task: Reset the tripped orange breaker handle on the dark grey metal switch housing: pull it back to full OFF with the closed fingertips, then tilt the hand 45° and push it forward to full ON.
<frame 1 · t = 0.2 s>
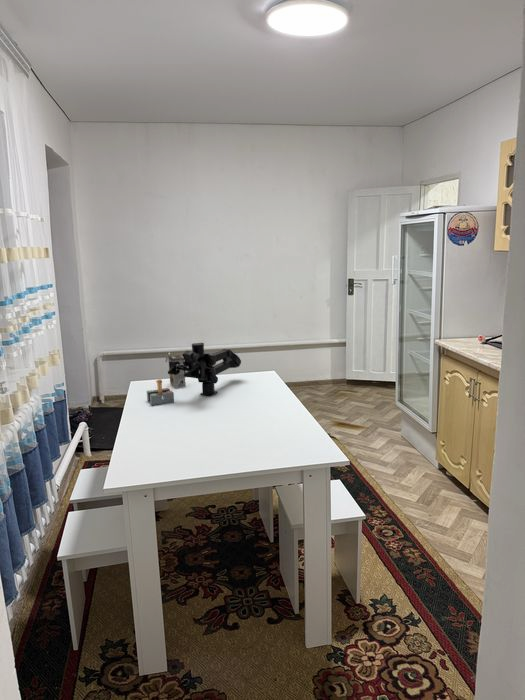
hand: (176, 374, 243), 17 cm above the table, tool horizontal, fingers open, 9 cm apart
breaker handle: (159, 388, 256), point 7 cm above the table, hinge at 0.0°
coffee box: (177, 386, 284), on the table
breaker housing: (160, 401, 258), on the table
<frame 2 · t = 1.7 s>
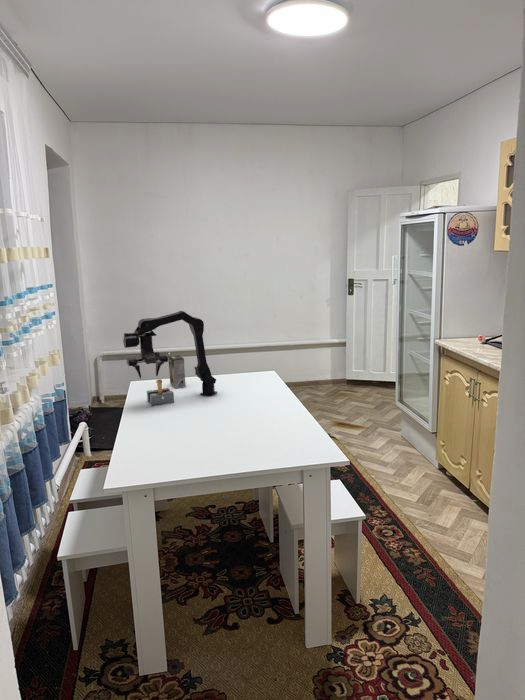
hand: (148, 377, 253), 13 cm above the table, tool pointing down, fingers open, 8 cm apart
nothing on the table moved.
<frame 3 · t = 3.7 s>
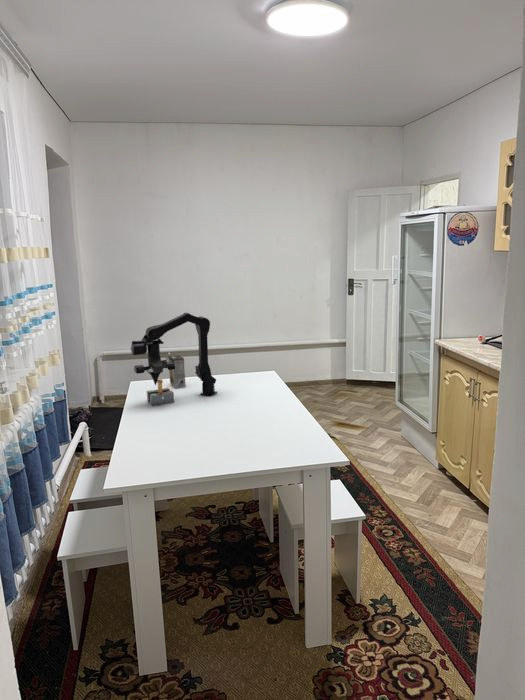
hand: (155, 384, 255), 9 cm above the table, tool pointing down, fingers closed
breaker handle: (160, 388, 256), point 7 cm above the table, hinge at -2.2°, touching gripper
everything else where it was.
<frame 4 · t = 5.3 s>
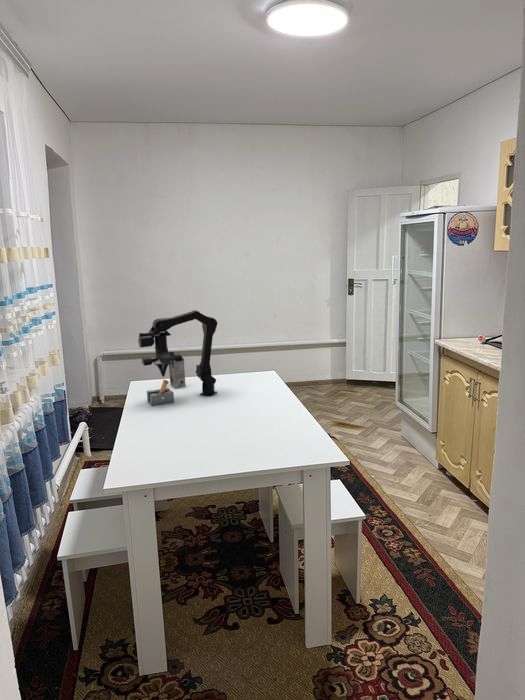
hand: (163, 376, 256), 13 cm above the table, tool pointing down, fingers closed
breaker handle: (163, 388, 257), point 7 cm above the table, hinge at -25.8°
everything else where it was.
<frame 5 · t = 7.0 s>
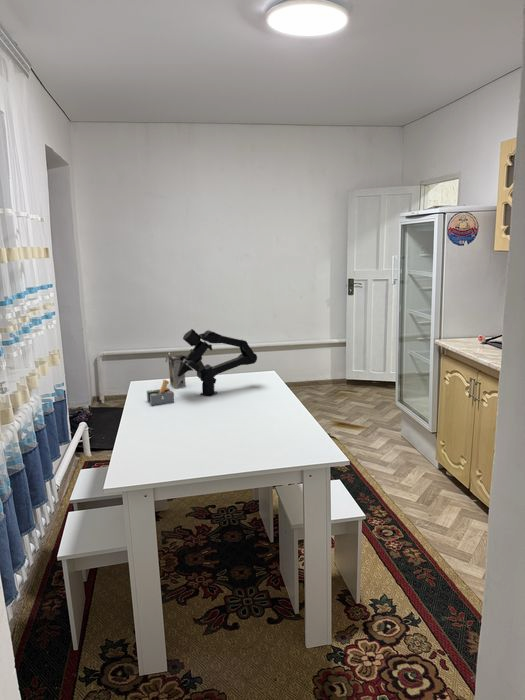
hand: (178, 376, 259), 12 cm above the table, tool tilted 45°, fingers closed
nothing on the table moved.
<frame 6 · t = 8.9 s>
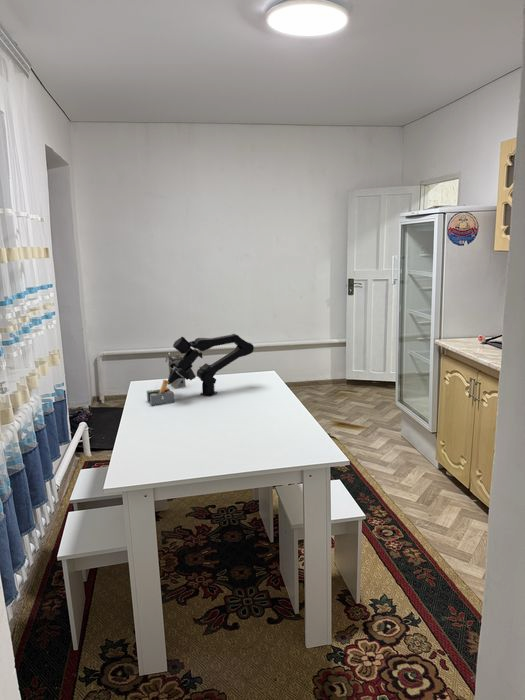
hand: (167, 384, 258), 8 cm above the table, tool tilted 45°, fingers closed, pressing on breaker handle
breaker handle: (163, 388, 257), point 7 cm above the table, hinge at -25.7°, touching gripper
everything else where it was.
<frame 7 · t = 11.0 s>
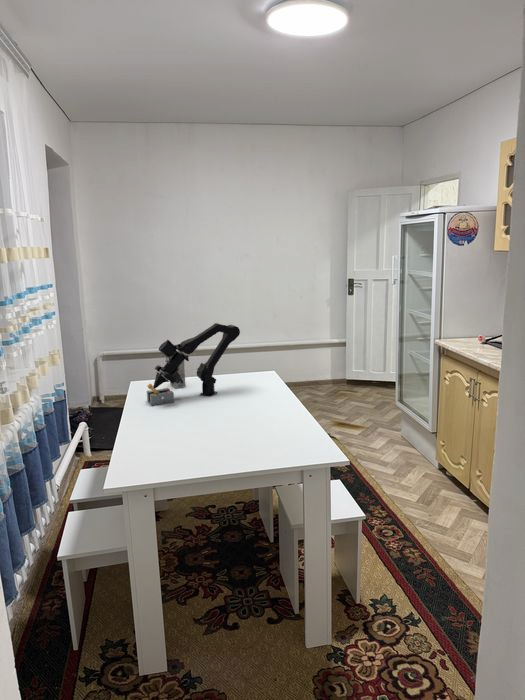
hand: (154, 387, 255), 8 cm above the table, tool tilted 45°, fingers closed, pressing on breaker handle
breaker handle: (154, 390, 255), point 6 cm above the table, hinge at 40.0°, touching gripper
everything else where it was.
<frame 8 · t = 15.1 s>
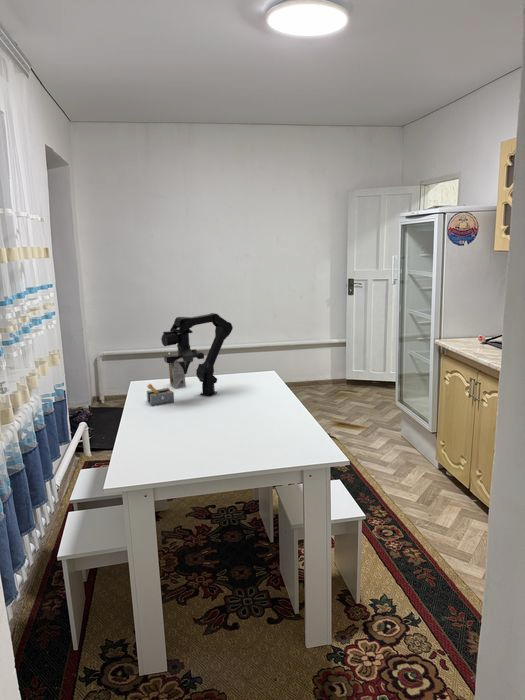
hand: (185, 374, 257), 13 cm above the table, tool pointing down, fingers closed
breaker handle: (154, 390, 255), point 6 cm above the table, hinge at 40.1°
everything else where it was.
at the end: breaker handle at +40° (first picture: +0°); coffee box moved 0.2 cm from its start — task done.
